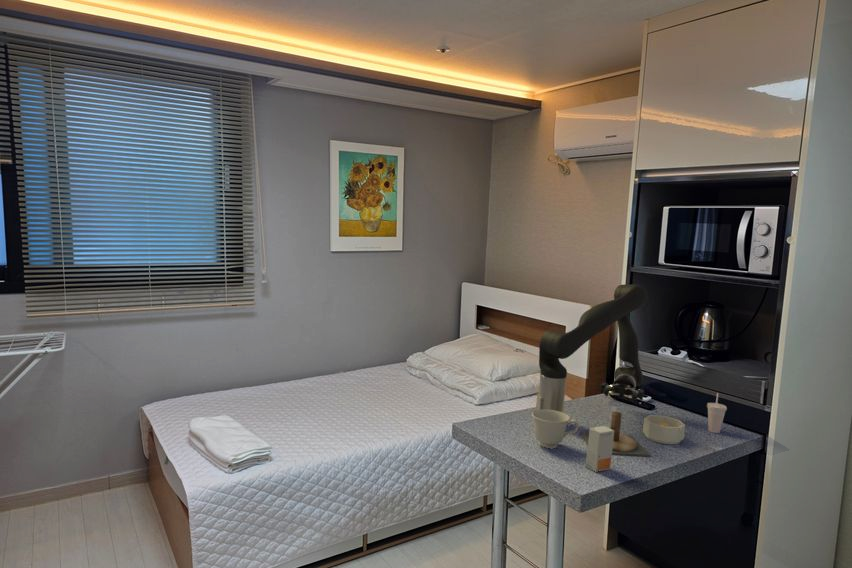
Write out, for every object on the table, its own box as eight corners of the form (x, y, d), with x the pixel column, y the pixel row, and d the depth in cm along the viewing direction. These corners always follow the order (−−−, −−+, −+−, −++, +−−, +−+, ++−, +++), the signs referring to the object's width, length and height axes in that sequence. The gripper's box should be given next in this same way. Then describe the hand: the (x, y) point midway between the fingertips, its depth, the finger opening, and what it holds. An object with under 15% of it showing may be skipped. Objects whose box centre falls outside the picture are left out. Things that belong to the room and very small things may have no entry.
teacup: (574, 457, 170) (577, 426, 169) (526, 448, 175) (528, 417, 174) (578, 444, 182) (581, 414, 180) (532, 435, 187) (535, 406, 186)
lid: (599, 450, 176) (602, 419, 175) (586, 434, 190) (589, 405, 188) (643, 453, 176) (646, 421, 175) (627, 436, 190) (630, 407, 189)
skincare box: (595, 473, 160) (599, 433, 159) (585, 466, 164) (588, 427, 163) (611, 469, 163) (615, 430, 162) (600, 463, 167) (604, 425, 166)
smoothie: (719, 428, 205) (723, 391, 203) (727, 435, 198) (731, 397, 197) (701, 427, 205) (705, 390, 204) (708, 433, 199) (712, 395, 197)
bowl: (652, 444, 186) (654, 426, 185) (638, 430, 198) (640, 414, 197) (688, 446, 186) (690, 428, 185) (672, 432, 198) (674, 416, 197)
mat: (593, 453, 175) (593, 451, 174) (579, 434, 190) (579, 432, 190) (650, 456, 175) (650, 454, 175) (631, 437, 191) (632, 435, 190)
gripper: (605, 371, 205) (599, 380, 191) (646, 378, 200) (643, 388, 185) (603, 391, 206) (596, 402, 191) (643, 399, 200) (640, 410, 186)
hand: (619, 395), depth 188 cm, fingers open, 8 cm apart
